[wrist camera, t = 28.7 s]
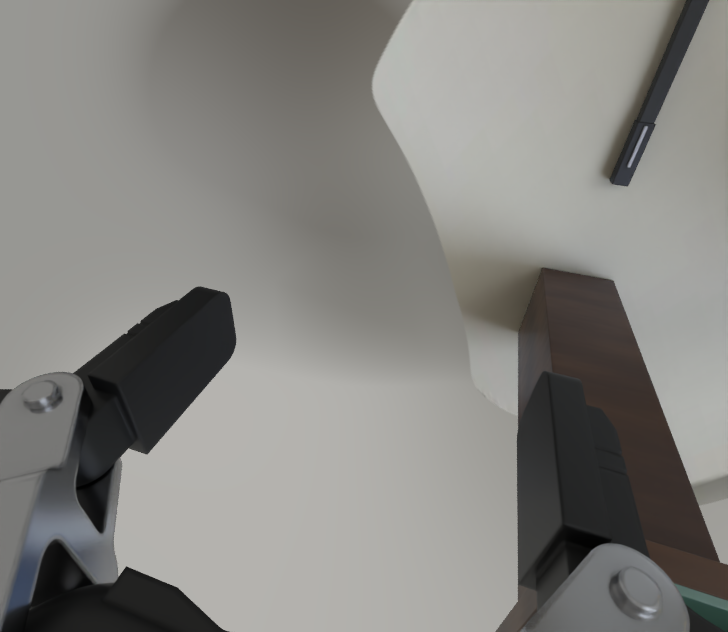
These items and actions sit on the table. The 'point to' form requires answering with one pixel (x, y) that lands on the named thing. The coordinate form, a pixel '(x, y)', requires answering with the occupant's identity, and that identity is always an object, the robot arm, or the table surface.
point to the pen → (658, 92)
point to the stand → (617, 422)
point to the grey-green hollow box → (706, 606)
